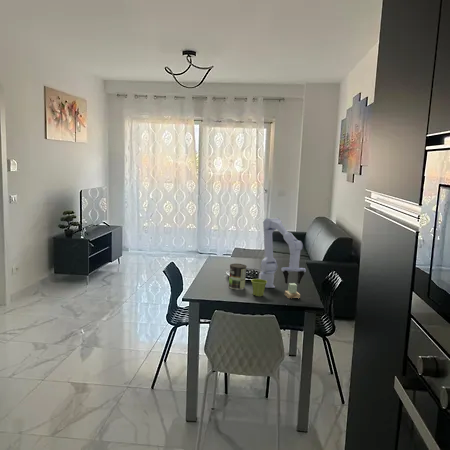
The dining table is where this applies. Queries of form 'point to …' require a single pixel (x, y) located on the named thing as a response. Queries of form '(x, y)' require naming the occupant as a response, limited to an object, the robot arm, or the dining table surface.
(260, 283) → the plant pot
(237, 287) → the coffee can
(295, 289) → the sage cube
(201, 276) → the dining table surface
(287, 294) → the oak block
